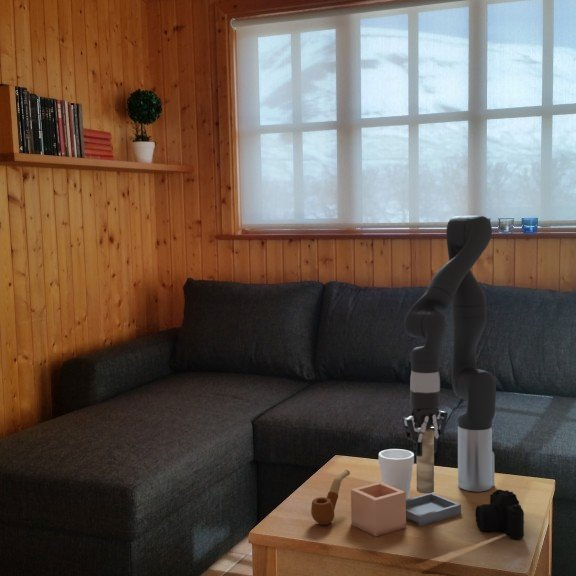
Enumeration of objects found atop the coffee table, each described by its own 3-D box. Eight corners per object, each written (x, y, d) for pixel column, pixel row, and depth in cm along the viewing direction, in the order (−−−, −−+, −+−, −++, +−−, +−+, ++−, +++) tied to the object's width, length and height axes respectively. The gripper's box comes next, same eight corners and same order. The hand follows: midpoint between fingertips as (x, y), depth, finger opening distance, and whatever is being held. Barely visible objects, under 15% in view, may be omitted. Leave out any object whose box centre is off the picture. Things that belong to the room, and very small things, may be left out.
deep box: (381, 515, 204) (380, 481, 203) (406, 527, 196) (405, 492, 195) (351, 524, 199) (350, 489, 198) (375, 536, 191) (375, 500, 190)
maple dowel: (425, 486, 207) (425, 426, 206) (437, 491, 203) (437, 430, 202) (413, 489, 205) (412, 429, 203) (424, 494, 201) (424, 432, 200)
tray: (431, 501, 213) (431, 492, 213) (461, 513, 204) (461, 504, 204) (391, 513, 205) (391, 503, 205) (420, 526, 196) (420, 516, 196)
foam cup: (413, 508, 208) (412, 460, 207) (378, 506, 210) (377, 458, 209) (414, 495, 218) (414, 449, 217) (381, 494, 220) (380, 448, 218)
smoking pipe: (332, 531, 196) (310, 529, 198) (353, 487, 212) (332, 486, 214) (328, 507, 194) (305, 505, 196) (349, 465, 210) (328, 464, 212)
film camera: (468, 518, 201) (468, 483, 201) (505, 516, 202) (505, 481, 201) (488, 542, 186) (488, 505, 186) (528, 539, 187) (528, 502, 186)
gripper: (435, 382, 209) (435, 445, 210) (394, 389, 201) (394, 455, 203) (456, 387, 202) (455, 452, 204) (414, 394, 195) (414, 462, 196)
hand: (425, 453), depth 203 cm, fingers closed on maple dowel, 4 cm apart
